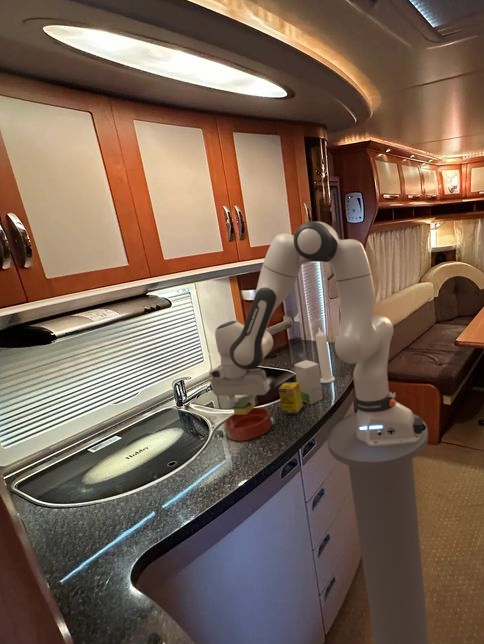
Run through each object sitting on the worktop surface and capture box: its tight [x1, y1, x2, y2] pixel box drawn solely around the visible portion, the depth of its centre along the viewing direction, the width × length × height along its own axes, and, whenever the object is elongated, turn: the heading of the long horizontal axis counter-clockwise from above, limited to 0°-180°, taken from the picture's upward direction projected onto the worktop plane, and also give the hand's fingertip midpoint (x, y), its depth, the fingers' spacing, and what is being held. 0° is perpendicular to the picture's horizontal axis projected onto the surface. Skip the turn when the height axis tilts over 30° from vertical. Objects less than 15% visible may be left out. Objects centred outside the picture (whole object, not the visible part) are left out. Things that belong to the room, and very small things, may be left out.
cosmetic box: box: [293, 359, 324, 405], centre depth 150 cm, size 8×7×16 cm
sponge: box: [232, 397, 257, 415], centre depth 130 cm, size 4×7×3 cm, turn 168°
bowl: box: [224, 406, 273, 442], centre depth 132 cm, size 15×15×5 cm
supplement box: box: [278, 381, 304, 416], centre depth 142 cm, size 6×6×11 cm
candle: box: [314, 327, 336, 384], centre depth 166 cm, size 7×7×25 cm
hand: (244, 405), depth 130 cm, fingers closed on sponge, 4 cm apart
